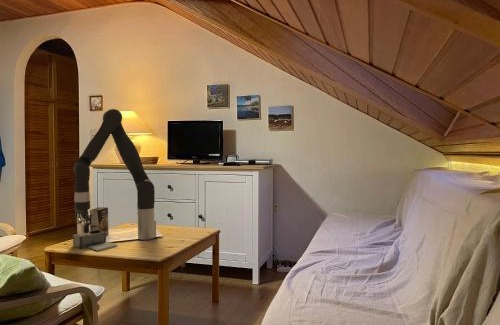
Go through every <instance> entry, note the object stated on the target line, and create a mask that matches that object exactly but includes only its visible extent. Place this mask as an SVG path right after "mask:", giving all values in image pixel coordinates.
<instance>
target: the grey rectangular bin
mask: <svg viewBox="0 0 500 325" xmlns="http://www.w3.org/2000/svg"><path fill="white" fill-rule="evenodd" d="M106 236H107V235H106V232H104V231H101V230H94V231H90V235H87V236H82V237H80V236H78V235H77V233H76V234H72V246H73V247H75V248H77V249H80V250H82V249H87V248H89V246H93V245H97V244H101V243H105V242H107V239H106V238H107V237H106Z"/></svg>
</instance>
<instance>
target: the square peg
mask: <svg viewBox="0 0 500 325" xmlns="http://www.w3.org/2000/svg"><path fill="white" fill-rule="evenodd" d="M85 223H86V222H85ZM76 228H77V229H76V230H77V231H76V232H77V233H76V234H77V235H78V236H80V237H82V236H87V235H90V228H89V232H88V233H84V224H83V222H82V223H78V224H77V223H76Z"/></svg>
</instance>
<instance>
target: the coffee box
mask: <svg viewBox="0 0 500 325" xmlns="http://www.w3.org/2000/svg"><path fill="white" fill-rule="evenodd" d="M89 214H92V217H91V225H89V229H90V231H94V230H101V231H104V232H106V236H108V235H109V208H108V207H106V206H105V207H103V206H102V207H99V206H98V207H96V208H95V207H94V208H92V209H89ZM107 234H108V235H107Z"/></svg>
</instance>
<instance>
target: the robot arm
mask: <svg viewBox="0 0 500 325" xmlns="http://www.w3.org/2000/svg"><path fill="white" fill-rule="evenodd" d="M122 121H123V115H122V113H121V112H120V110H119V109H116V108H111V109H108V110H106V111H104V113H103V116H102V122H101V125H100V127H99V128H98V130H97V132H96V133H95V134H94V135H93V136H92V138H91V140H90V141H89V143H88V144H87V145H86V146H85V149H84V150H83V152H82V154H81V155H80V156H79V157H78V159H77V160H76V161H75V162H74V165H73V167H72V172H73V173H74V174H75V182H74V195H73V197H74V210H75V211H74V220H75V221H74V222H75V223H76V225H77V224H78V223H83V224H84V233H88V232H89V229H90V225H91V217H92V214H90V213H89V210H91V193H90V176H91V170H90V166H91V164H92V163H93V162H94V161H95V160H96V159H97V158H98V156H99V155H100V153H101V151H102V150H103V147H104V146H105V144H106V143H107V142H108V139H109V138H110V136H111V137H112V139H113V141H114V144H115V146H116V149H117V152H118V153H119V156H120V158H121V160H122V162H123V163H124V165H125V167H126V168H127V170H128V171H129V173H130V174H131V176H132V179H133V181H134V184H135V187H136V192H137V193H136V194H137V205H136V208H137V210H136V211H137V212H136V213H137V239H138V240H141V241H146V240H147V241H148V240H152V239H155V238H156V237H157V220H156V219H155V195H156V194H155V192H156V190H155V185H154V183H153V182H152V181H151V179H150V177H148V176H149V175H148V174H147V173H146V171H145V169H144V166H143V162H142V160H141V159H142V158H141V156H140V154H139V151H138V149H137V147H136V145H135V143H134V142H133V141H132V139H131V138H130V137H129V135H128V134H127V133H126V131H125V129H124V127H123V123H122ZM85 222H86V223H85Z"/></svg>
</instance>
